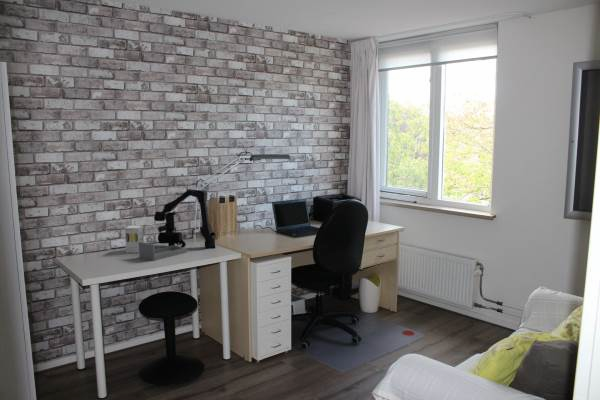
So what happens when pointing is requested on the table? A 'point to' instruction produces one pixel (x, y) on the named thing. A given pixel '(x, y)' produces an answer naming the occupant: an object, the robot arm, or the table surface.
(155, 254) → the case
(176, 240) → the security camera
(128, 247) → the supplement box
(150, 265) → the table surface
